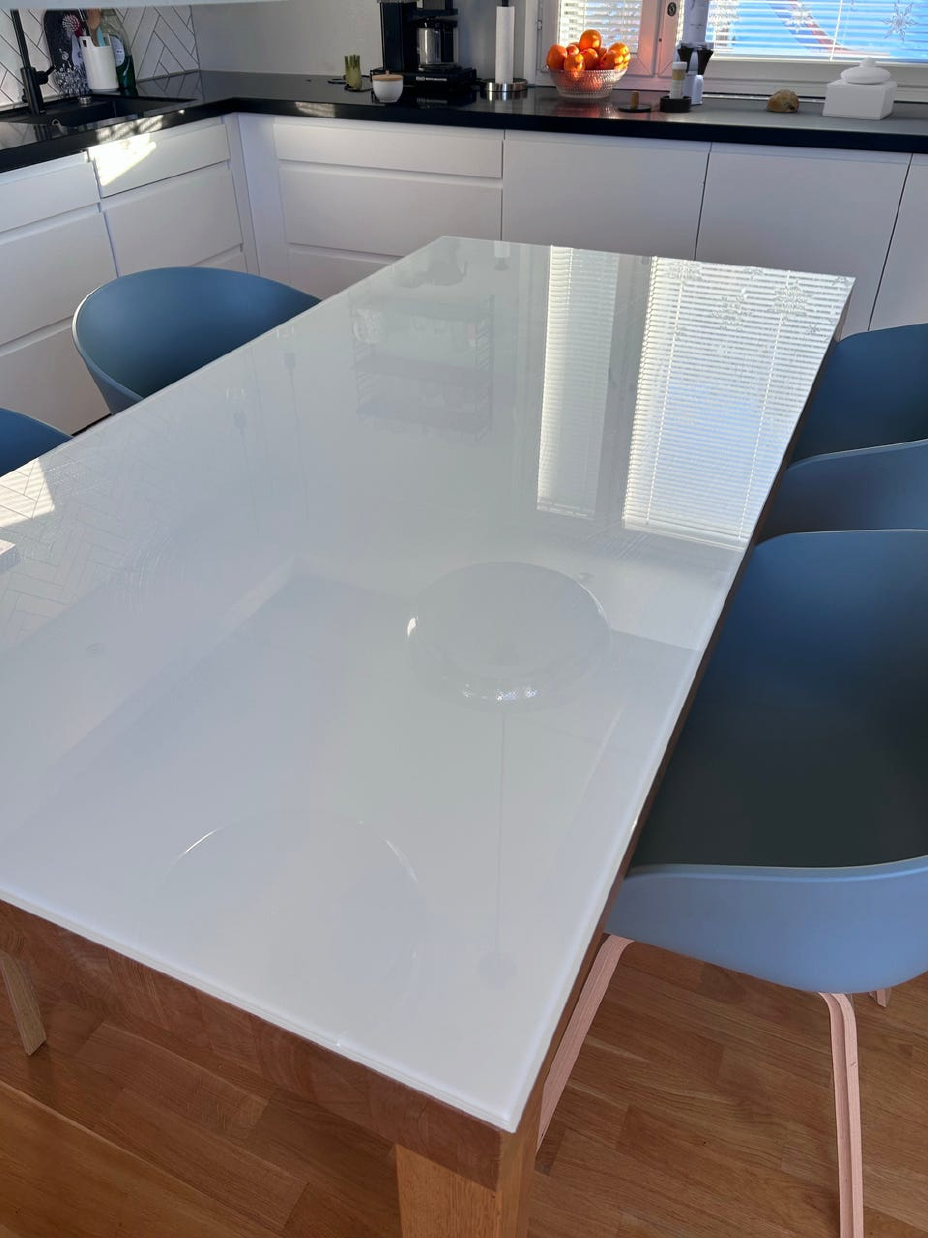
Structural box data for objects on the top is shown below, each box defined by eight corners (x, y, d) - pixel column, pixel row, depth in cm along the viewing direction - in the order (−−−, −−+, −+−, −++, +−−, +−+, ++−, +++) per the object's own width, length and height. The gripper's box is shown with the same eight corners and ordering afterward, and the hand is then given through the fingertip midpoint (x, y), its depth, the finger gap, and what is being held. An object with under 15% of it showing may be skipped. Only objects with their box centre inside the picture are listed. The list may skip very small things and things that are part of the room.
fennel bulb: (345, 91, 360) (343, 54, 353) (349, 89, 364) (346, 53, 357) (360, 91, 359) (358, 54, 352) (363, 89, 363) (361, 53, 356)
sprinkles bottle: (674, 107, 315) (679, 60, 307) (684, 108, 312) (690, 61, 305) (664, 108, 313) (669, 61, 305) (675, 110, 310) (680, 62, 302)
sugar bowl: (404, 98, 340) (403, 68, 335) (403, 102, 331) (402, 72, 326) (374, 99, 340) (372, 69, 335) (372, 103, 331) (371, 72, 326)
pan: (668, 107, 319) (670, 94, 316) (696, 110, 313) (697, 96, 311) (653, 110, 312) (654, 97, 310) (680, 113, 307) (682, 99, 305)
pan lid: (628, 107, 320) (630, 88, 317) (657, 109, 314) (659, 90, 311) (611, 110, 313) (612, 91, 310) (639, 113, 307) (641, 94, 304)
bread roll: (774, 125, 310) (786, 101, 303) (757, 106, 314) (768, 82, 307) (797, 122, 313) (809, 99, 307) (780, 104, 318) (791, 80, 311)
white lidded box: (879, 119, 294) (892, 60, 285) (820, 115, 302) (831, 57, 293) (891, 112, 306) (904, 55, 297) (834, 109, 314) (845, 53, 305)
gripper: (673, 24, 304) (668, 72, 312) (704, 26, 294) (698, 76, 301) (690, 23, 307) (684, 71, 315) (721, 25, 296) (715, 75, 304)
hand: (692, 73), depth 308 cm, fingers open, 7 cm apart
